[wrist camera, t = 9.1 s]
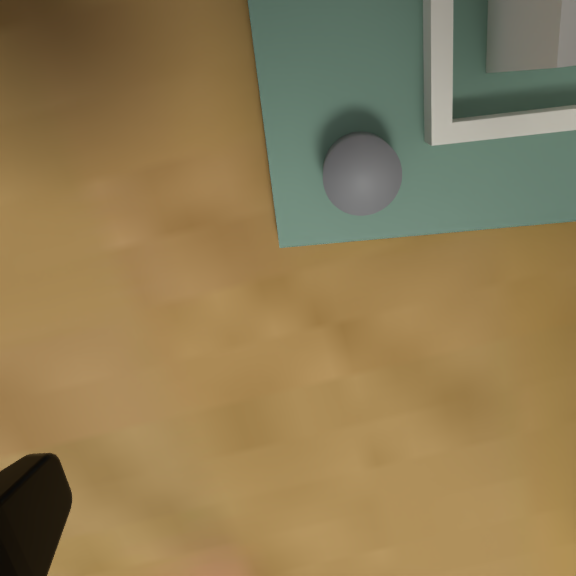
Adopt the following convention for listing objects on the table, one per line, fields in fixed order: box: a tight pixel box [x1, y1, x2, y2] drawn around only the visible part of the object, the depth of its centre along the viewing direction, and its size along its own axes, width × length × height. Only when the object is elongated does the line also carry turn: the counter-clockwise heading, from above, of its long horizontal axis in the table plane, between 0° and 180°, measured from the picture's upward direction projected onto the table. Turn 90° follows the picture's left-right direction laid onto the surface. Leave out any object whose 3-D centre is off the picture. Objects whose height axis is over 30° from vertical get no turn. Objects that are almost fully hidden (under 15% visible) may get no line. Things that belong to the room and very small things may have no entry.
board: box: [248, 0, 576, 248], centre depth 14 cm, size 12×18×3 cm, turn 97°
